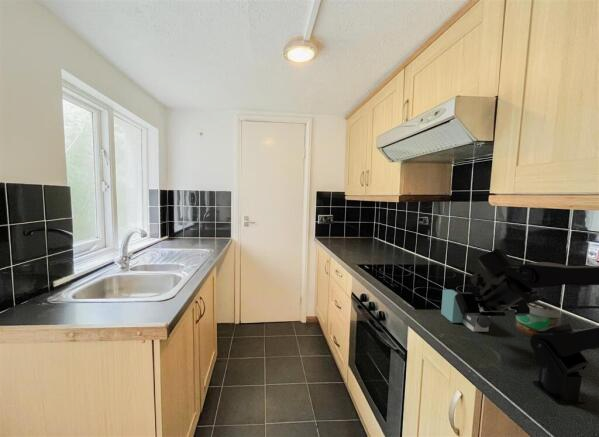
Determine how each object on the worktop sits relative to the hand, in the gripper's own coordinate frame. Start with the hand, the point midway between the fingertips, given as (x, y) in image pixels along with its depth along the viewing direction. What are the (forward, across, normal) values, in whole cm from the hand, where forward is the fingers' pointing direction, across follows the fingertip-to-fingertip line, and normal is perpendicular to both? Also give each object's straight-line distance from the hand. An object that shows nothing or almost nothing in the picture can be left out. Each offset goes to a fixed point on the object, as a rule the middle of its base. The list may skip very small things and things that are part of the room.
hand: (476, 314), depth 85 cm
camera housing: (+12, -5, -2) cm, 13 cm away
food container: (+8, -20, +4) cm, 21 cm away
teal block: (+14, 0, -4) cm, 15 cm away
